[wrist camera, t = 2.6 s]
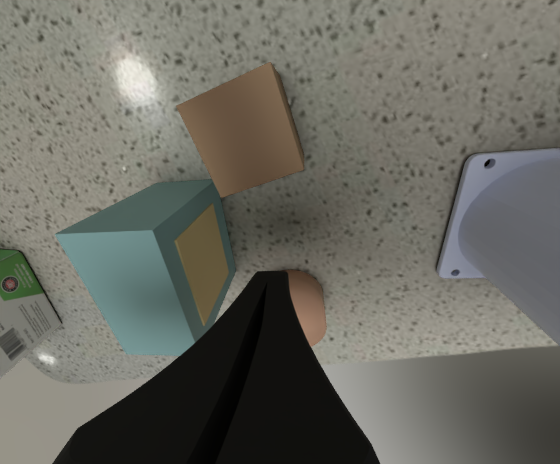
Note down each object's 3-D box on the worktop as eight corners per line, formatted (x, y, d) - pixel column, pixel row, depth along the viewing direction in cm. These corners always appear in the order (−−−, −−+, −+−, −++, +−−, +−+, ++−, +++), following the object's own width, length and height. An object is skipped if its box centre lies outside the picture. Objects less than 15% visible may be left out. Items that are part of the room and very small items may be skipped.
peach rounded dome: (322, 268, 17) (326, 298, 14) (323, 317, 19) (326, 350, 17) (255, 270, 18) (246, 298, 15) (264, 317, 20) (258, 349, 17)
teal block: (218, 178, 15) (155, 230, 8) (237, 270, 18) (201, 356, 12) (155, 182, 15) (52, 234, 9) (185, 271, 18) (124, 354, 12)
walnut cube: (280, 75, 12) (270, 61, 8) (304, 153, 13) (304, 169, 10) (211, 106, 13) (176, 105, 9) (241, 176, 14) (221, 197, 11)
